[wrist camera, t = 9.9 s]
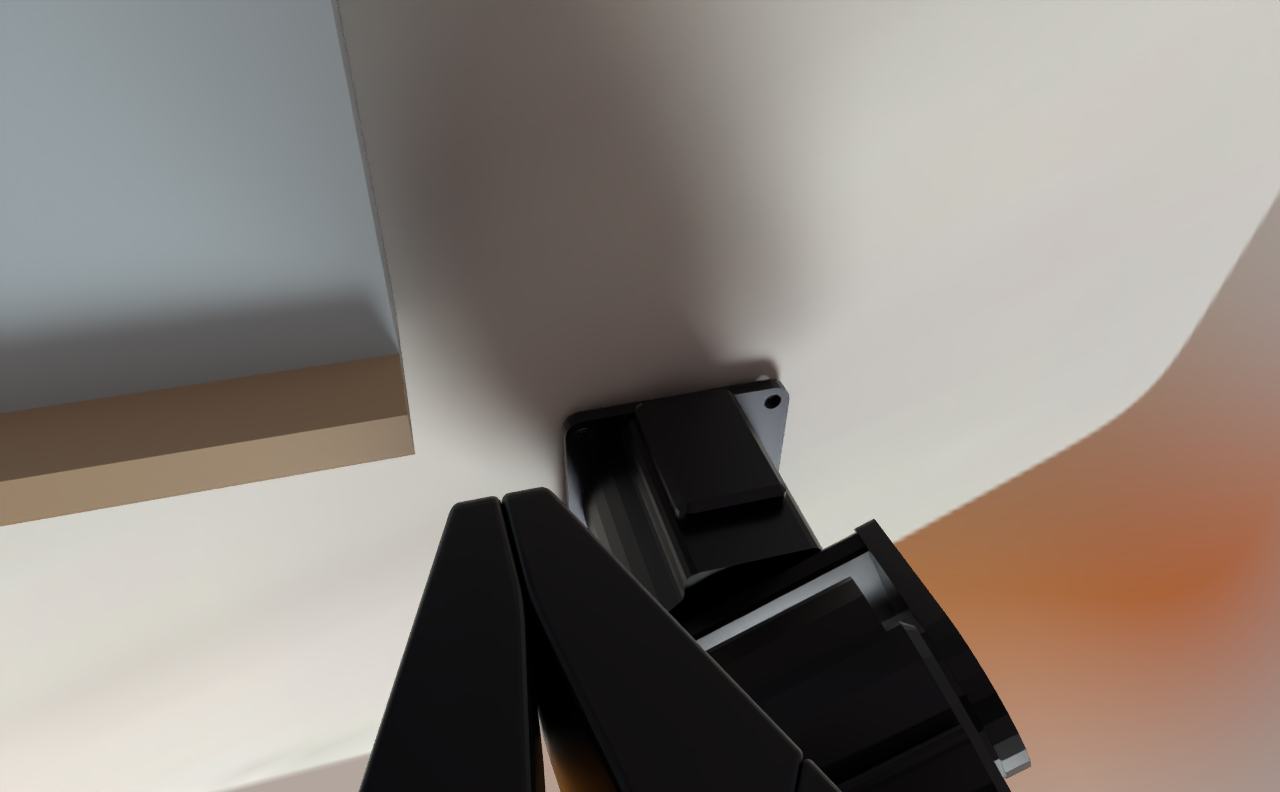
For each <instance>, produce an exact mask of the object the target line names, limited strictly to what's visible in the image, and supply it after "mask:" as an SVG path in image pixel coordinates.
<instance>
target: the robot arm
mask: <svg viewBox="0 0 1280 792" xmlns="http://www.w3.org/2000/svg"><path fill="white" fill-rule="evenodd" d="M772 395H774V396H773V397H772V398H771V399H769V400H766V399H767V398H768V397H769V396H772ZM788 404H789V394H788V392H787V390H786V389H785V387H784V386H783V385H782V383H781V382H780V381H778V380H764V381H758V382H752V383H746V384H741V385H735V386H729V387H723V388H717V389H711V390H705V391H700V392H694V393H688V394H682V395H676V396H670V397H664V398H659V399H653V400H647V401H641V402H635V403H629V404H623V405H618V406H612V407H606V408H600V409H594V410H588V411H582V412H578V413H575V414H572V415H571V416H570V417H568V418H567V419H566V421H565V422H564V423H563V428H562V432H563V450H564V467H565V485H566V502H567V506H566V505H565V504H564V503H563V502H562V501H561V500H560V499H559V498H558V497H557V496H556V495H555V494H554V493H553V492H552V491H551V490H549V489H548V488H545V487H538V488H533V489H528V490H522V491H517V492H512V493H508V494H506V495H505V496H504V497H503V499H502V504H501V501H500V500H499V499H498V498H497V497H495V496H490V497H485V498H480V499H475V500H469V501H464V502H459V503H456V504H455V505H454V506H453V507H452V509H451V510H450V513H449V516H448V519H447V522H446V525H445V528H444V531H443V534H442V537H441V540H440V543H439V546H438V549H437V552H436V556H435V559H434V562H433V565H432V568H431V571H430V574H429V577H428V580H427V583H426V586H425V589H424V592H423V595H422V598H421V602H420V605H419V608H418V611H417V614H416V617H415V620H414V623H413V626H412V629H411V632H410V635H409V638H408V641H407V645H406V648H405V651H404V654H403V657H402V660H401V663H400V666H399V669H398V672H397V675H396V678H395V681H394V684H393V687H392V691H391V694H390V697H389V700H388V703H387V706H386V709H385V712H384V715H383V718H382V721H381V724H380V727H379V730H378V734H377V737H376V740H375V743H374V746H373V749H372V752H371V755H370V758H369V761H368V764H367V768H366V771H365V773H364V777H363V780H362V783H361V786H360V789H359V792H545V779H544V764H543V754H542V744H541V734H540V726H539V720H540V725H541V729H542V733H543V737H544V741H545V744H546V747H547V751H548V754H549V757H550V761H551V764H552V767H553V770H554V773H555V776H556V779H557V782H558V785H559V788H560V791H561V792H1011V791H1010V789H1009V787H1008V785H1007V784H1006V782H1005V780H1004V778H1009V777H1011V776H1013V775H1015V774H1017V773H1019V772H1021V771H1023V770H1025V769H1027V768H1029V767H1030V766H1031V762H1030V759H1029V756H1028V753H1027V751H1026V748H1025V746H1024V744H1023V742H1022V740H1021V737H1020V735H1019V733H1018V731H1017V729H1016V727H1015V725H1014V724H1013V722H1012V720H1011V718H1010V716H1009V714H1008V712H1007V711H1006V709H1005V707H1004V705H1003V703H1002V701H1001V700H1000V698H999V696H998V694H997V692H996V691H995V689H994V687H993V686H992V684H991V682H990V681H989V679H988V677H987V676H986V674H985V672H984V671H983V669H982V668H981V666H980V665H979V663H978V661H977V659H976V658H975V656H974V655H973V653H972V651H971V650H970V648H969V647H968V645H967V644H966V643H965V641H964V639H963V638H962V636H961V635H960V634H959V632H958V630H957V629H956V627H955V626H954V625H953V623H952V622H951V620H950V619H949V618H948V616H947V615H946V613H945V612H944V611H943V609H942V608H941V607H940V606H939V604H938V603H937V602H936V600H935V599H934V598H933V596H932V595H931V594H930V593H929V591H928V590H927V588H926V587H925V586H924V584H923V583H922V582H921V580H920V579H919V578H918V576H917V575H916V574H915V572H914V571H913V570H912V568H911V567H910V566H909V564H908V563H907V562H906V560H905V559H904V558H903V556H902V555H901V554H900V552H899V551H898V550H897V548H896V547H895V546H894V544H893V543H892V542H891V540H890V539H889V538H888V536H887V535H886V534H885V532H884V531H883V530H882V528H881V527H880V526H879V524H878V523H877V522H876V520H875V519H873V520H871V521H869V522H867V523H865V524H863V525H861V526H859V527H857V528H855V532H856V533H854V534H852V535H850V536H848V537H846V538H844V539H842V540H840V541H839V542H837V543H835V544H833V545H831V546H829V547H827V548H825V549H822V547H821V545H820V543H819V542H818V540H817V538H816V537H815V535H814V533H813V531H812V530H811V528H810V526H809V524H808V523H807V521H806V519H805V517H804V516H803V514H802V512H801V510H800V509H799V507H798V505H797V503H796V502H795V500H794V498H793V497H792V495H791V493H790V491H789V490H788V488H787V486H786V484H785V483H784V481H783V479H782V477H781V476H780V474H779V465H780V458H781V451H782V445H783V438H784V431H785V424H786V417H787V411H788ZM582 428H588V429H587V430H586V431H585V432H582V433H576V432H577V431H578V430H580V429H582Z"/></svg>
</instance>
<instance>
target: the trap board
mask: <svg viewBox="0 0 1280 792" xmlns="http://www.w3.org/2000/svg"><path fill="white" fill-rule="evenodd" d="M413 454H415V451H414V443H413V436H412V428H411V420H410V413H409V405H408V398H407V390H406V383H405V375H404V367H403V360H402V352H401V345H400V337H399V330H398V322H397V315H396V309H395V304H394V299H393V293H392V288H391V283H390V278H389V272H388V267H387V262H386V257H385V251H384V246H383V241H382V236H381V230H380V225H379V220H378V214H377V209H376V204H375V199H374V193H373V188H372V183H371V178H370V172H369V167H368V162H367V157H366V151H365V146H364V141H363V135H362V130H361V125H360V120H359V114H358V109H357V104H356V99H355V93H354V88H353V83H352V78H351V72H350V67H349V62H348V56H347V51H346V46H345V41H344V35H343V30H342V25H341V20H340V14H339V9H338V4H337V0H0V526H5V525H11V524H17V523H23V522H28V521H34V520H40V519H46V518H51V517H57V516H63V515H69V514H74V513H80V512H86V511H92V510H97V509H103V508H109V507H115V506H120V505H126V504H132V503H138V502H143V501H149V500H155V499H161V498H166V497H172V496H178V495H184V494H189V493H195V492H201V491H206V490H212V489H218V488H224V487H229V486H235V485H241V484H247V483H252V482H258V481H264V480H270V479H275V478H281V477H287V476H293V475H298V474H304V473H310V472H316V471H321V470H327V469H333V468H339V467H344V466H350V465H356V464H362V463H367V462H373V461H379V460H384V459H390V458H396V457H402V456H407V455H413Z"/></svg>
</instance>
